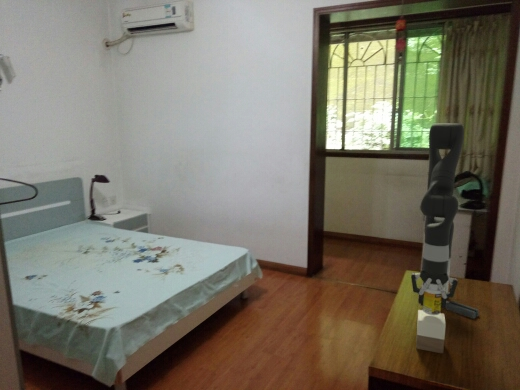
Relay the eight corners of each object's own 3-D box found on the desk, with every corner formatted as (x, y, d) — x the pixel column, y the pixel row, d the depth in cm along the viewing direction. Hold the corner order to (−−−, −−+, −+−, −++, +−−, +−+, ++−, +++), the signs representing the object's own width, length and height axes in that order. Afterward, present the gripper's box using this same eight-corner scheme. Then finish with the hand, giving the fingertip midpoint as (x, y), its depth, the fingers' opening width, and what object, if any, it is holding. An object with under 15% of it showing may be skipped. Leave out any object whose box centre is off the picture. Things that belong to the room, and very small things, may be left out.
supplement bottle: (434, 317, 125) (436, 287, 123) (418, 310, 129) (420, 281, 127) (444, 313, 128) (446, 283, 126) (428, 306, 132) (430, 277, 130)
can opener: (425, 303, 160) (426, 288, 159) (431, 299, 164) (432, 285, 163) (473, 320, 146) (475, 304, 145) (479, 316, 149) (481, 301, 148)
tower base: (416, 336, 135) (417, 323, 134) (441, 341, 132) (442, 327, 131) (416, 348, 128) (417, 334, 127) (443, 353, 125) (444, 339, 124)
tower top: (417, 323, 134) (418, 309, 133) (443, 327, 131) (444, 313, 130) (417, 334, 127) (418, 320, 126) (444, 339, 124) (445, 325, 123)
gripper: (459, 255, 126) (455, 305, 129) (411, 250, 131) (408, 298, 134) (461, 263, 119) (457, 315, 122) (410, 257, 124) (407, 307, 127)
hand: (431, 306), depth 128 cm, fingers closed on supplement bottle, 5 cm apart
